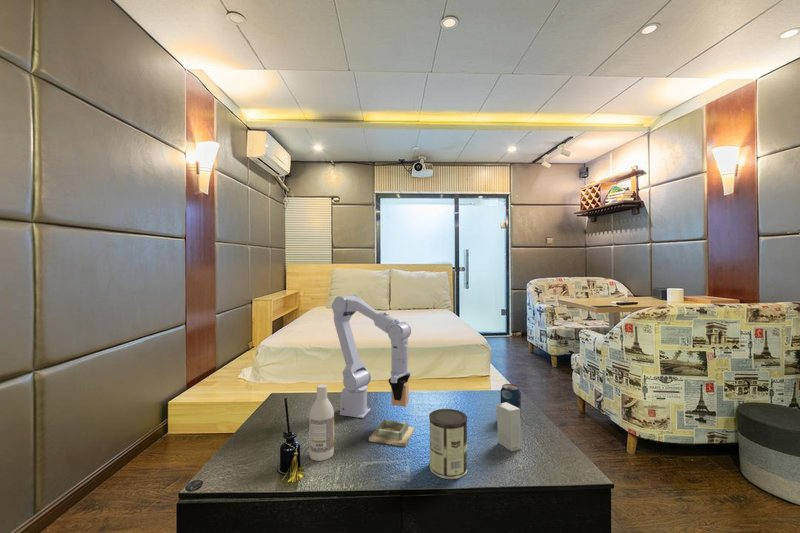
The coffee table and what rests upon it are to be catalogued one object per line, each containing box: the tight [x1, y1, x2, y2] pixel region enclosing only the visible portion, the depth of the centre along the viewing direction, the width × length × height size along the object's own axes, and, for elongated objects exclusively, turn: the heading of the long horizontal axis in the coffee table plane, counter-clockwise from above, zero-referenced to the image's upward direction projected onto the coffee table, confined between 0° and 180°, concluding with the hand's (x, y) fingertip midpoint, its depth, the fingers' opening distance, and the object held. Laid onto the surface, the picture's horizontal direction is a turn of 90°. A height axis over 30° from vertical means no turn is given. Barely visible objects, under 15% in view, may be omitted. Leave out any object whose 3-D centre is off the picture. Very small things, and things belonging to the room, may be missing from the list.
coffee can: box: [428, 408, 468, 480], centre depth 93 cm, size 10×10×14 cm
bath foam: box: [308, 384, 335, 462], centre depth 100 cm, size 7×7×20 cm
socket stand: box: [368, 419, 416, 447], centre depth 111 cm, size 12×11×3 cm
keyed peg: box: [390, 381, 410, 408], centre depth 119 cm, size 5×4×7 cm
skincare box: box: [496, 402, 522, 452], centre depth 105 cm, size 6×4×12 cm
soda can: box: [500, 383, 522, 420], centre depth 123 cm, size 7×7×12 cm
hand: (399, 397), depth 119 cm, fingers closed on keyed peg, 4 cm apart
